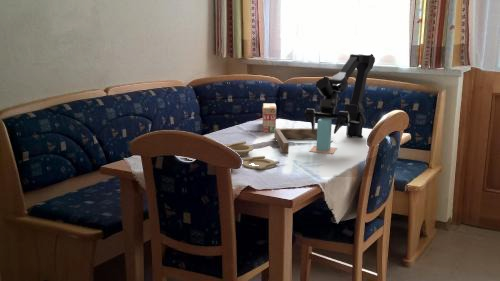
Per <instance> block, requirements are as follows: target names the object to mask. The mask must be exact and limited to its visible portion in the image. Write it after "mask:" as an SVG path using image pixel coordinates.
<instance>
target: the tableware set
mask: <svg viewBox="0 0 500 281" xmlns="http://www.w3.org/2000/svg"><path fill="white" fill-rule="evenodd" d="M224 145H226V146H227V147H229V148H231V149H232V150H234V151H235V152H237V153H238V154H239V155H240V156H239V157H241V158H242V160H243V161H242V162H243V167H244V168H247V169H251V168H252V170H268V169H272V168H274V167H276V165H278V164H280V163H281V162H280V161H279V160H276V161H275V160H272V159H268V158H266V156H265V155H261V156H260V155H259V156H250V157H249V156H248V155H249V153H250V152H252V151H253V150H254V148H255V147H254V146H252V145H250V144H247V141H245V140H243V141H239V142H234V143H224ZM245 156H247V157H245ZM251 163H254V164H255V165H259V166H252V165H249V164H251Z"/></svg>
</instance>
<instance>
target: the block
mask: <svg viewBox="0 0 500 281" xmlns="http://www.w3.org/2000/svg"><path fill="white" fill-rule="evenodd" d="M332 120H333V119H331V118H322V117H319V119H318V120H317V127H316V128H317V139H316V145H315V146H316V150H320V151H329V150H330V147H331V145H332V144H331V142H332V123H333V122H332Z"/></svg>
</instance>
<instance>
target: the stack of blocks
mask: <svg viewBox="0 0 500 281" xmlns="http://www.w3.org/2000/svg"><path fill="white" fill-rule="evenodd" d="M276 122H277V105H276V103H275V102H274V103H266V102H265V103H262V133H274V131H275V128H277V126H276V125H277V123H276Z"/></svg>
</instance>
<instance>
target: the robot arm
mask: <svg viewBox="0 0 500 281" xmlns="http://www.w3.org/2000/svg"><path fill="white" fill-rule="evenodd" d="M375 62H376V58H375V56H374V55H373V53H363V52H361V53H354V52H353V53H350V55H349V58H348V59H347V60H346V62H345V63H344V65H343V66H342V68H341V69H340V70H339V71H338V73H336V74H333V76H332V77H331V78H329V77H328V76H324V75H323V77H322V78H320V79H318V81H316V84H315V87H316V89H317V90H318V92H319V93H320V95H321V96H323V98H321V99H320V103H319V107H320V108H319V111H320V112H318V111H317V112H316V110H315V108H306V109H305V110H304V117H305V120H306V121H307V122H308V123H310V124H311V128H312V132H314V128H316V118H325V119H332V120H334V119H335V120H336V123H335V126H334V128H333V129H334V130H333V135H335V134H336V133H337V132H338V131H339V129H341V128H342V127H343V126H346V133H345V135H346V136H348V137H349V138H363V137H364V136H363V126H364V125H366V123H367V118H366V116H365V114H364V107H363V104H362V102H363V99H364V98H363V97H364V94H365V88H366V84H367V78H368V74H369V72H370V71H371V70H373V68H374V64H375ZM355 70H356V71H357V72H356V76H355V80H354V84H353V85H354V86H353V90H352V95H351V96H352V97H351V99H350V102H349V103H346V104H345V109H344V110H340V111H338V113H335V112H336V108H337V106H338V100H340V97H339V93H343V92H345V90H346V89H347V87H348V84H349V82H348V80H349V78H350V77H351V76H352V74H353V73H354V71H355Z"/></svg>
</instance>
